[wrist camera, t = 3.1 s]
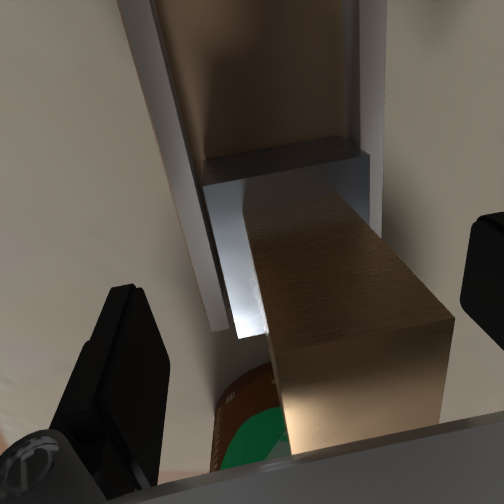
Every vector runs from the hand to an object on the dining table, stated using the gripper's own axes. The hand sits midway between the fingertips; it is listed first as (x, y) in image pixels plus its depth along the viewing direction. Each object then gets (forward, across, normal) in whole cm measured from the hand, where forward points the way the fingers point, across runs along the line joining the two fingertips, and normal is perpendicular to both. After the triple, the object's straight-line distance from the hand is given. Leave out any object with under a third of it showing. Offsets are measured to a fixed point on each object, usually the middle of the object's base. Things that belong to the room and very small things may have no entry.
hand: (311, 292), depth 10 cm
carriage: (+5, 0, 0) cm, 5 cm away
